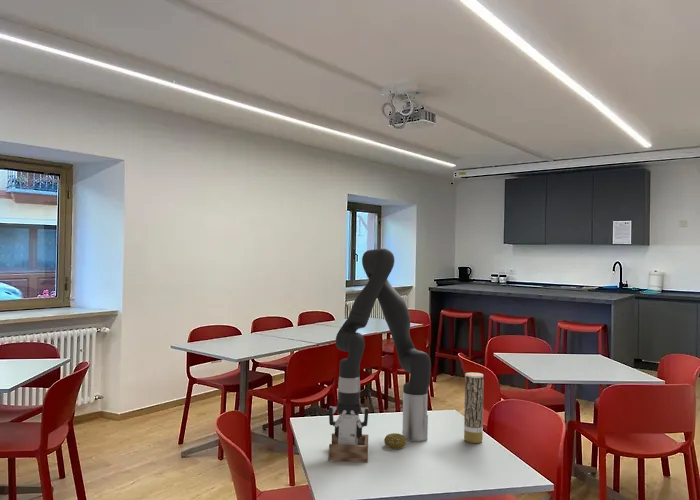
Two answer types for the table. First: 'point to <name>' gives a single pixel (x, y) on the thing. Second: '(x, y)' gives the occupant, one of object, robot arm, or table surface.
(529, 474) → the table surface
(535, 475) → the table surface
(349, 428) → the skincare box
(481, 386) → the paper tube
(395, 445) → the sculpture
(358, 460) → the u rest
